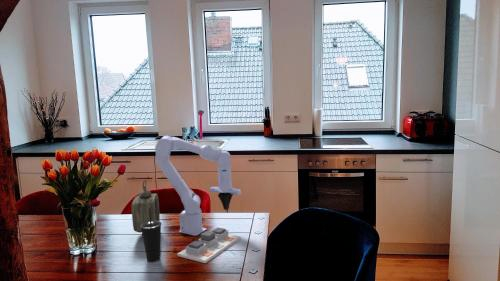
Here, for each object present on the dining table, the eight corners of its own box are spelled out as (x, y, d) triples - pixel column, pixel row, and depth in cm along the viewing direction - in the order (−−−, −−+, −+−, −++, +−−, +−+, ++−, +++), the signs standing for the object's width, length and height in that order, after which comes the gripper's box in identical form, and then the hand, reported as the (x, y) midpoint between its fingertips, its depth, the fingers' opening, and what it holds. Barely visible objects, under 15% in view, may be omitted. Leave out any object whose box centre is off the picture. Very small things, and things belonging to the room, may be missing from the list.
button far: (212, 237, 160) (211, 230, 160) (217, 234, 163) (217, 227, 163) (220, 239, 158) (219, 232, 158) (225, 235, 161) (225, 228, 161)
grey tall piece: (156, 242, 160) (151, 183, 157) (134, 244, 160) (128, 185, 156) (160, 229, 175) (156, 175, 171) (140, 230, 174) (135, 176, 170)
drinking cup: (153, 265, 140) (149, 212, 137) (138, 261, 144) (134, 209, 141) (168, 257, 147) (164, 206, 143) (153, 253, 151) (149, 203, 147)
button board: (177, 256, 147) (177, 247, 147) (214, 233, 167) (214, 225, 167) (205, 263, 141) (204, 254, 140) (240, 238, 161) (240, 230, 160)
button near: (188, 252, 147) (188, 244, 147) (195, 247, 151) (195, 240, 150) (197, 254, 145) (196, 246, 145) (203, 249, 149) (203, 242, 148)
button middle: (200, 241, 153) (200, 234, 153) (207, 237, 157) (206, 230, 156) (209, 243, 151) (208, 236, 151) (215, 239, 155) (214, 232, 154)
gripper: (205, 179, 167) (207, 209, 170) (235, 182, 161) (236, 214, 163) (214, 175, 174) (215, 205, 176) (243, 178, 167) (244, 208, 169)
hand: (226, 209), depth 170 cm, fingers closed
